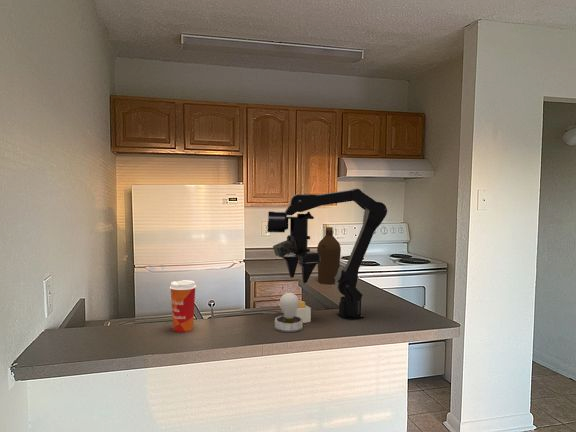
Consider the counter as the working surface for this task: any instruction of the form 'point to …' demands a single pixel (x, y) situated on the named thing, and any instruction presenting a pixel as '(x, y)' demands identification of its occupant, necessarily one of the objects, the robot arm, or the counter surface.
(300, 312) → the white jar
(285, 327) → the grey round shallow bowl
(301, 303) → the breaker button
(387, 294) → the counter surface
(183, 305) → the paper cup
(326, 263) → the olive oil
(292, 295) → the light bulb
